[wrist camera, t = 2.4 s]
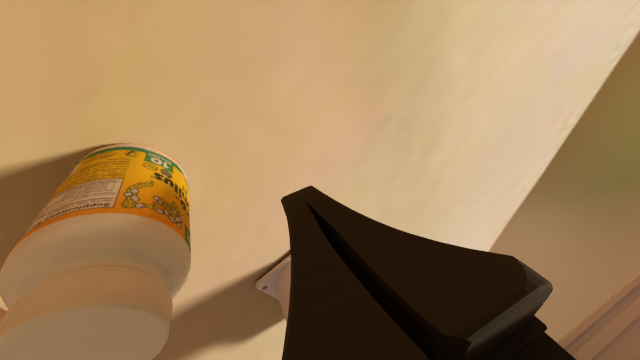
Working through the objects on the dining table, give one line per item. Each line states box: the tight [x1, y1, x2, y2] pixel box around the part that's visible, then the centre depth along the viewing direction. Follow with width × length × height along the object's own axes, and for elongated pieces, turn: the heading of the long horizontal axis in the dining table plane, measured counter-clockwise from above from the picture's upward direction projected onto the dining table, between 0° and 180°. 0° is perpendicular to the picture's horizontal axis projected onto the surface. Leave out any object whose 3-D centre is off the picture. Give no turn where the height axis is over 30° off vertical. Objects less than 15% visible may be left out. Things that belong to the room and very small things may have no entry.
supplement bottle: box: [0, 143, 191, 360], centre depth 11 cm, size 5×5×10 cm
